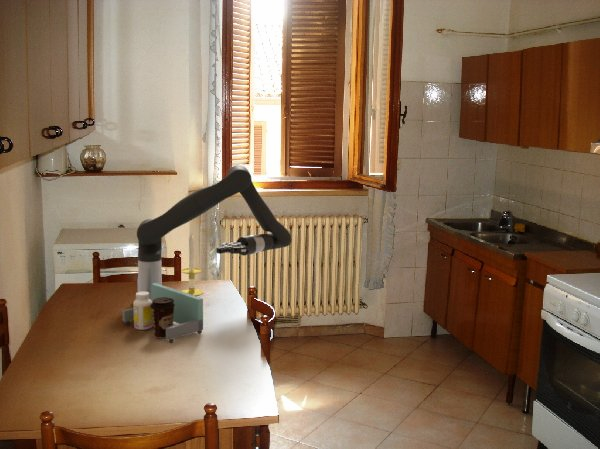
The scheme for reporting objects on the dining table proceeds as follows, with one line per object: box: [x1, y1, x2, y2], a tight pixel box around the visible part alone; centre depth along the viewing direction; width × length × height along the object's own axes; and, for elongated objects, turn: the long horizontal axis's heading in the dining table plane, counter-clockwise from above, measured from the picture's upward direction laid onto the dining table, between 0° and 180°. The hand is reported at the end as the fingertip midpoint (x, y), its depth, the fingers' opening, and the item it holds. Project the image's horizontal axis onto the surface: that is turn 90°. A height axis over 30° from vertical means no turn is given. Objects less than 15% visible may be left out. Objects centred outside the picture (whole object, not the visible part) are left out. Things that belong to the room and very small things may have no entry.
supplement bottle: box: [132, 291, 153, 331], centre depth 247 cm, size 7×7×13 cm
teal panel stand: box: [121, 283, 204, 343], centre depth 245 cm, size 28×15×13 cm, turn 48°
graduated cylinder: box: [181, 230, 204, 297], centre depth 289 cm, size 10×10×27 cm
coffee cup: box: [150, 297, 175, 339], centre depth 239 cm, size 9×8×13 cm
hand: (217, 250), depth 261 cm, fingers closed
